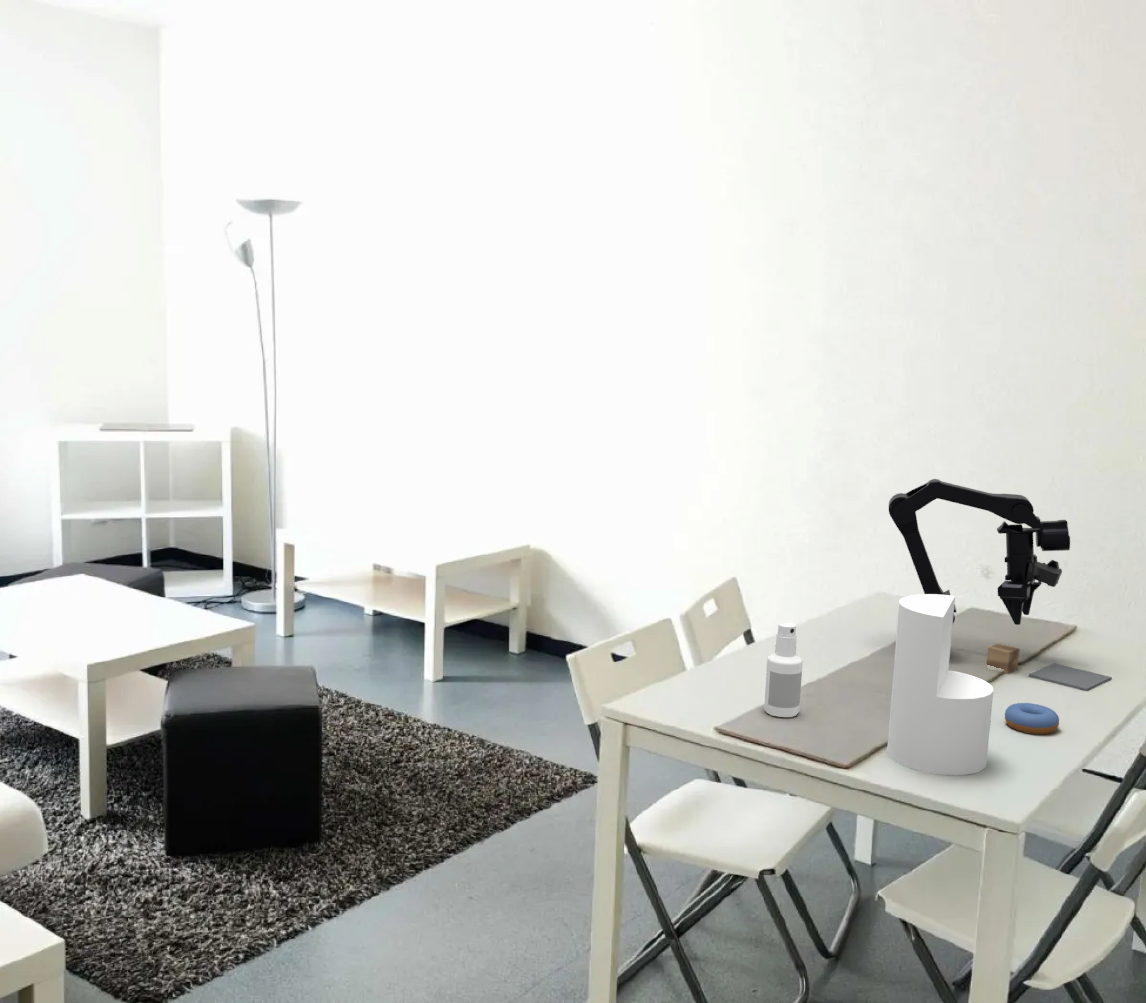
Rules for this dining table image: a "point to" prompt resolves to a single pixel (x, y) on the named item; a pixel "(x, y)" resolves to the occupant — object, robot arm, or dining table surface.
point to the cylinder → (935, 695)
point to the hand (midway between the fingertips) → (1022, 619)
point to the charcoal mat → (1070, 676)
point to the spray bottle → (784, 674)
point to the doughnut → (1032, 718)
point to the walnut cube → (1003, 657)
